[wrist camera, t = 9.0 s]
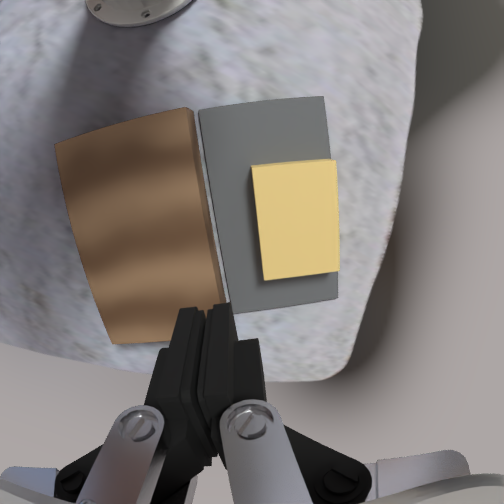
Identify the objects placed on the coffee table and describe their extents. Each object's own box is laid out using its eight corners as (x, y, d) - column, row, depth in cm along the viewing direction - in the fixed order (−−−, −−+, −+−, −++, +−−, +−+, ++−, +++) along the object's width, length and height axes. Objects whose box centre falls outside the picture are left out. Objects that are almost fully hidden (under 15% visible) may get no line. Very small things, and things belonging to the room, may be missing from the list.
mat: (198, 110, 25) (198, 110, 25) (322, 96, 25) (323, 96, 24) (233, 312, 32) (233, 313, 32) (337, 296, 32) (338, 298, 31)
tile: (335, 160, 24) (328, 158, 26) (251, 167, 24) (250, 165, 27) (339, 270, 28) (333, 261, 30) (264, 280, 28) (262, 270, 30)
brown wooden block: (75, 142, 25) (54, 144, 21) (193, 111, 25) (185, 106, 21) (123, 323, 32) (112, 344, 28) (228, 312, 32) (227, 335, 28)
